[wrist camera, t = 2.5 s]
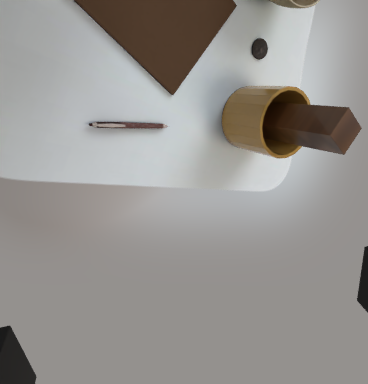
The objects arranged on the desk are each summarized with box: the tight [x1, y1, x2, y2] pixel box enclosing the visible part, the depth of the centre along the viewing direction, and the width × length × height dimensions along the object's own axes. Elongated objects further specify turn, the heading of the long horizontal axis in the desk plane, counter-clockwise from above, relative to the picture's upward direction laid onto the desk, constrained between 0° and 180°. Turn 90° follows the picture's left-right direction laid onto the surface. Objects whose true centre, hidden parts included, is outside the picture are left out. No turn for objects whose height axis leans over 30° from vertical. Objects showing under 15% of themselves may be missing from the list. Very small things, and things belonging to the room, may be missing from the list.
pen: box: [89, 122, 168, 128], centre depth 45 cm, size 11×1×1 cm, turn 86°
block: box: [262, 102, 361, 155], centre depth 47 cm, size 4×4×18 cm
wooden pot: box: [222, 86, 310, 158], centre depth 51 cm, size 10×10×9 cm
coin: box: [252, 38, 268, 59], centre depth 52 cm, size 3×1×3 cm
